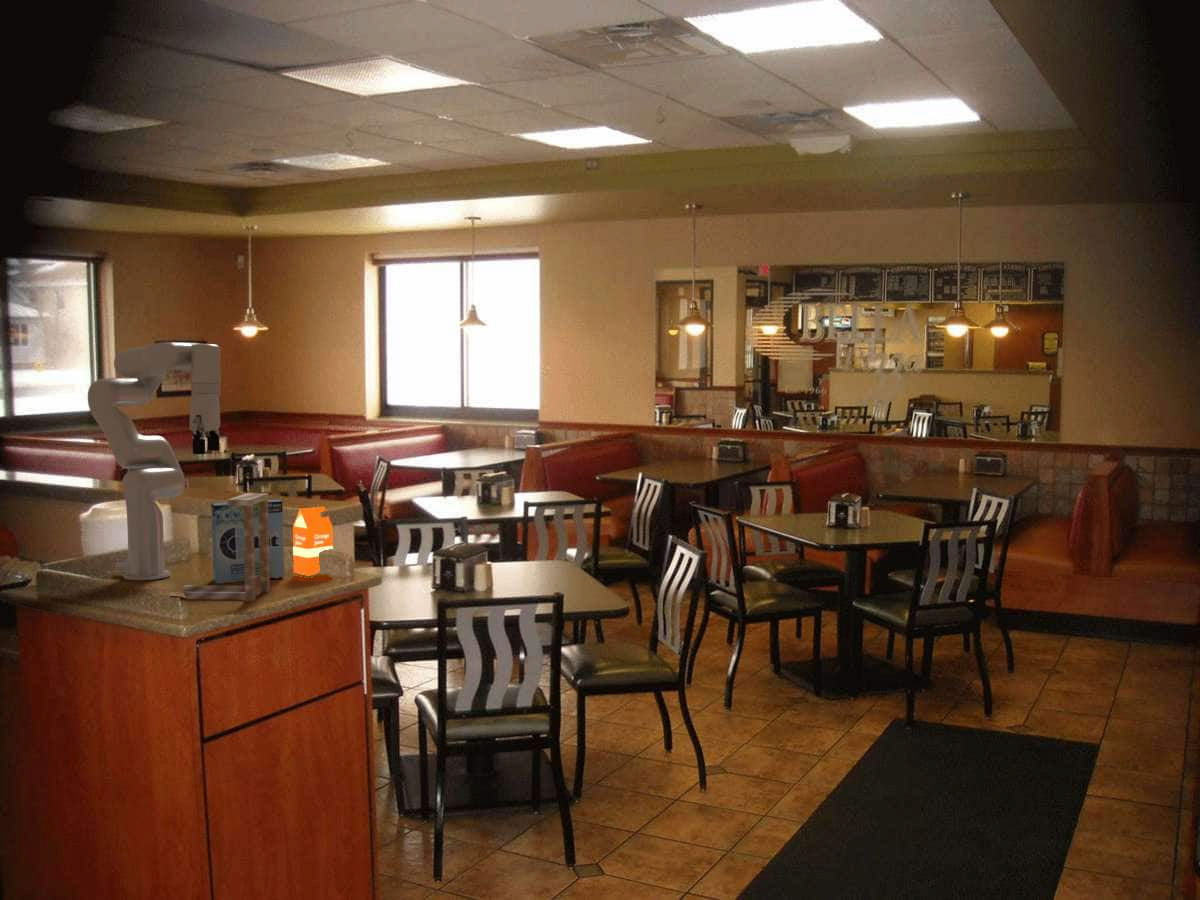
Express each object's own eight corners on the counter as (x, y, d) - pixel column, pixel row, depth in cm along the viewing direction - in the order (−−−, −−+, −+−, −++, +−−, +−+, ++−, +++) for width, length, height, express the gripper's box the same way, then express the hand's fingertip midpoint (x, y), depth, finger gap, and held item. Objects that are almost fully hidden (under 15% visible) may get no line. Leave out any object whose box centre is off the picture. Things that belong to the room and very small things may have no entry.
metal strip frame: (165, 601, 294) (162, 499, 292) (188, 589, 309) (185, 493, 307) (252, 601, 294) (250, 499, 292) (270, 590, 309) (268, 493, 307)
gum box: (281, 575, 331) (279, 498, 329) (285, 578, 326) (283, 500, 325) (212, 581, 322) (210, 502, 320) (215, 584, 317) (214, 504, 315)
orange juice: (333, 573, 334) (332, 507, 332) (308, 578, 327) (306, 510, 326) (318, 570, 339) (317, 505, 337) (293, 574, 332) (291, 508, 331)
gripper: (205, 388, 311) (205, 449, 313) (178, 390, 294) (179, 455, 296) (231, 388, 311) (231, 450, 312) (206, 391, 294) (207, 455, 295)
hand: (206, 452), depth 304 cm, fingers open, 9 cm apart
